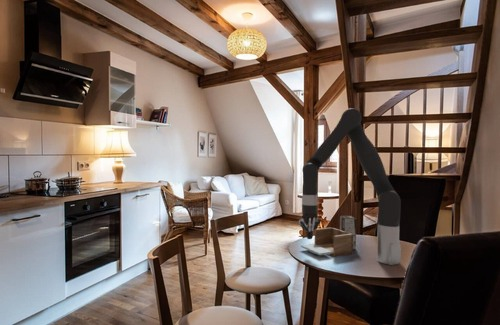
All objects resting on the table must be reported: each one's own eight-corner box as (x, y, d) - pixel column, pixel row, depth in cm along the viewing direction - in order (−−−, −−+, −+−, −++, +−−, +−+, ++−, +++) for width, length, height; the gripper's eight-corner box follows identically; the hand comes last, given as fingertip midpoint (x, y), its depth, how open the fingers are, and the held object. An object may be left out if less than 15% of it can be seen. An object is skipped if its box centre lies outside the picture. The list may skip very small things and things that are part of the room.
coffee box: (356, 249, 166) (357, 218, 166) (343, 249, 166) (344, 218, 166) (351, 244, 175) (351, 215, 175) (339, 244, 175) (340, 215, 175)
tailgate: (332, 251, 153) (319, 253, 149) (332, 255, 153) (319, 257, 149) (312, 243, 166) (301, 245, 163) (312, 246, 166) (301, 248, 163)
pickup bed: (352, 254, 158) (353, 234, 158) (333, 257, 153) (334, 236, 152) (331, 245, 172) (331, 227, 172) (313, 248, 167) (313, 229, 167)
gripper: (303, 205, 149) (303, 242, 149) (325, 203, 155) (325, 239, 155) (294, 203, 155) (293, 238, 156) (315, 201, 161) (315, 235, 162)
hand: (309, 238), depth 155 cm, fingers closed
